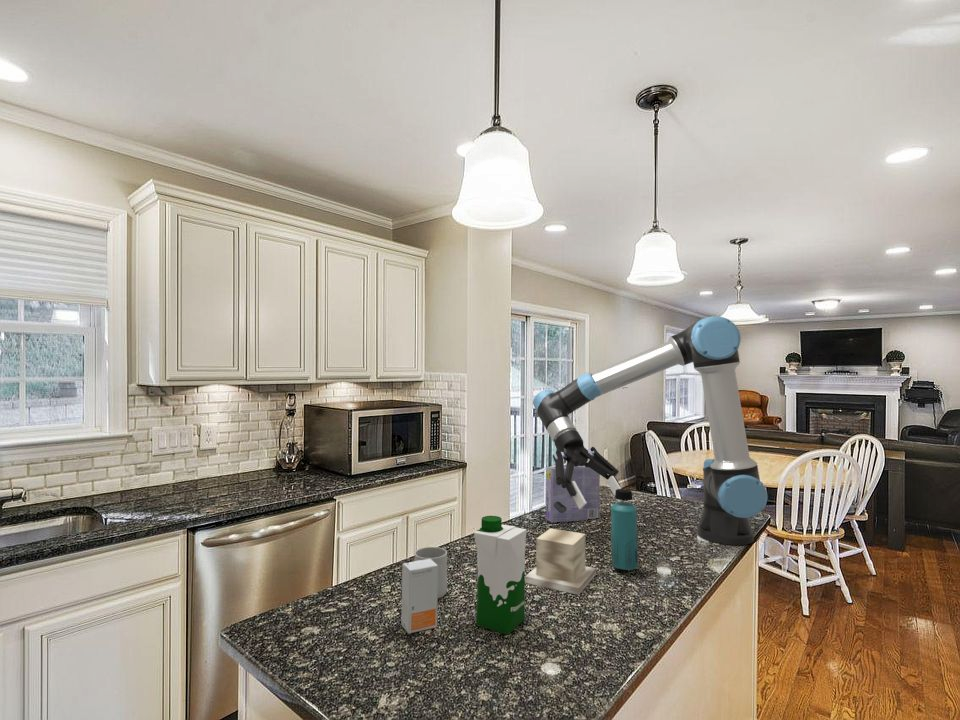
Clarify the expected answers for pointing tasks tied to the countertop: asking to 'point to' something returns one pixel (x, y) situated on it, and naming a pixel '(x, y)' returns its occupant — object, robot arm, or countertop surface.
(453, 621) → the countertop surface
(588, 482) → the cake pan box
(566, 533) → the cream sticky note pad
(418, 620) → the skincare box
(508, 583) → the milk carton
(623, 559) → the beverage bottle
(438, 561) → the cup
